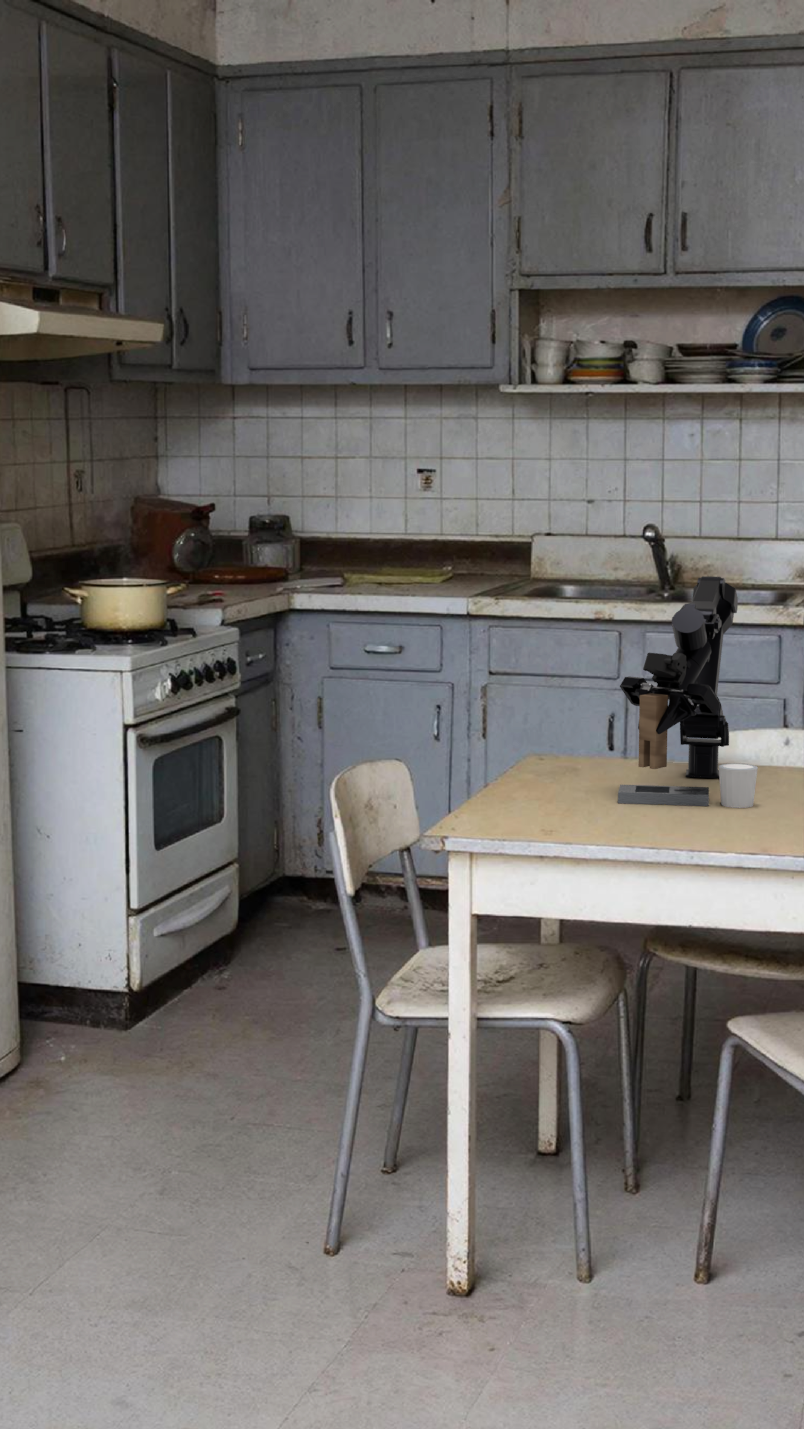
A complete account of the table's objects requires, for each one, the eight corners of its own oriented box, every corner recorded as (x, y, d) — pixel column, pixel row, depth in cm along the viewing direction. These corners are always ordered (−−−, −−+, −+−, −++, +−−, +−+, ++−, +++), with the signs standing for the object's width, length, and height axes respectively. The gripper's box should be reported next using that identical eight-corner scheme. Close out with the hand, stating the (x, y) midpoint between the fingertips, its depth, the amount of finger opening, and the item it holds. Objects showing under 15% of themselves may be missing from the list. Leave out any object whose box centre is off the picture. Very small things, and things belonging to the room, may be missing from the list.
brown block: (650, 764, 305) (651, 693, 303) (666, 766, 302) (668, 695, 300) (638, 766, 302) (639, 695, 300) (654, 769, 300) (656, 697, 298)
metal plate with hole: (619, 795, 308) (620, 783, 308) (708, 798, 305) (708, 786, 305) (617, 803, 301) (618, 791, 300) (708, 806, 298) (708, 794, 298)
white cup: (712, 806, 298) (713, 767, 297) (724, 799, 304) (725, 761, 303) (750, 809, 295) (751, 770, 294) (761, 803, 301) (762, 764, 300)
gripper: (626, 632, 308) (588, 698, 302) (711, 639, 295) (672, 708, 289) (651, 671, 315) (614, 736, 309) (736, 680, 302) (698, 748, 296)
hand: (648, 731), depth 300 cm, fingers closed on brown block, 4 cm apart
